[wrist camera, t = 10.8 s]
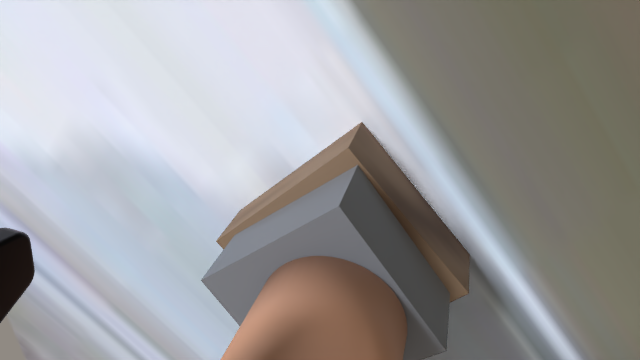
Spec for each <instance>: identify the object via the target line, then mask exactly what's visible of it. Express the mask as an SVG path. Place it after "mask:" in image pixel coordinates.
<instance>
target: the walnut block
mask: <svg viewBox="0 0 640 360" xmlns="http://www.w3.org/2000/svg"><path fill="white" fill-rule="evenodd" d="M356 165H359V167H360V168H361V170H362V171H363V172H364V174H365V175H366V177H367V178H368V179H369V181H370V182H371V184H372V185H373V186H374V188H375V189H376V191H377V192H378V193H379V195H380V196H381V198H382V199H383V200H384V202H385V203H386V205H387V206H388V207H389V209H390V210H391V212H392V213H393V214H394V216H395V217H396V219H397V220H398V221H399V223H400V224H401V225H402V227H403V228H404V230H405V231H406V232H407V234H408V235H409V237H410V238H411V239H412V241H413V242H414V244H415V245H416V246H417V248H418V249H419V251H420V252H421V253H422V255H423V256H424V258H425V259H426V260H427V262H428V263H429V265H430V266H431V267H432V269H433V270H434V272H435V273H436V274H437V276H438V277H439V279H440V280H441V281H442V283H443V284H444V286H445V287H446V288H447V290H448V291H449V293H450V302H452V301H454V300H456V299H458V298H460V297H463V296H465V295H467V294H469V259H470V255H469V253H468V252H467V251H466V250H465V248H464V247H463V246H462V245H461V243H460V242H459V241H458V240H457V239H456V237H455V236H454V235H453V234H452V232H451V231H450V230H449V229H448V227H447V226H446V225H445V224H444V223H443V221H442V220H441V219H440V218H439V216H438V215H437V214H436V213H435V211H434V210H433V209H432V208H431V206H430V205H429V204H428V203H427V202H426V200H425V199H424V198H423V197H422V195H421V194H420V193H419V192H418V190H417V189H416V188H415V187H414V186H413V184H412V183H411V182H410V181H409V179H408V178H407V177H406V176H405V174H404V173H403V172H402V171H401V169H400V168H399V167H398V166H397V165H396V163H395V162H394V161H393V160H392V158H391V157H390V156H389V155H388V153H387V152H386V151H385V150H384V149H383V147H382V146H381V145H380V144H379V142H378V141H377V140H376V139H375V137H374V136H373V135H372V134H371V132H370V131H369V130H368V129H367V128H366V126H365V125H364V124H363V123H362V122H361V123H360V124H358V125H357V126H356V127H354V128H353V129H352V130H350V131H349V132H347V133H346V134H345V135H343V136H342V137H341V138H339V139H338V140H336V141H335V142H334V143H332V144H331V145H330V146H328V147H327V148H325V149H324V150H323V151H321V152H320V153H319V154H317V155H316V156H314V157H313V158H312V159H310V160H309V161H307V162H306V163H305V164H303V165H302V166H301V167H299V168H298V169H296V170H295V171H294V172H292V173H291V174H290V175H288V176H287V177H285V178H284V179H283V180H281V181H280V182H279V183H277V184H276V185H274V186H273V187H272V188H270V189H269V190H268V191H266V192H265V193H263V194H262V195H261V196H259V197H258V198H257V199H255V200H254V201H252V202H251V203H250V204H248V205H247V206H246V207H244V208H243V209H241V210H240V211H239V213H238V214H237V215H236V216H235V218H234V219H233V220H232V222H231V223H230V224H229V225H228V227H227V228H226V229H225V230H224V232H223V233H222V234H221V236H220V237H219V238H218V239H217V241H216V242H217V243H218V244H219V245H220V246H221V247H222V248H223V249H225V247H226V246H227V245H228V243H229V242H230V241H231V239H232V238H233V237H234V235H236V234H237V233H239V232H241V231H243V230H244V229H246V228H248V227H250V226H251V225H253V224H255V223H257V222H258V221H260V220H262V219H264V218H265V217H267V216H269V215H271V214H272V213H274V212H276V211H278V210H279V209H281V208H283V207H285V206H286V205H288V204H290V203H292V202H293V201H295V200H297V199H299V198H300V197H302V196H304V195H306V194H307V193H309V192H311V191H313V190H314V189H316V188H318V187H320V186H321V185H323V184H325V183H327V182H328V181H330V180H332V179H334V178H335V177H337V176H339V175H341V174H342V173H344V172H346V171H348V170H349V169H351V168H353V167H355V166H356Z"/></svg>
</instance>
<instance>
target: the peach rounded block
mask: <svg viewBox="0 0 640 360" xmlns="http://www.w3.org/2000/svg"><path fill="white" fill-rule="evenodd" d="M406 339H407V319H406V315H405V312H404V309H403V307H402V305H401V303H400V301H399V299H398V298H397V296H396V295H395V293H394V292H393V291H392V290H391V288H390V287H389V286H388V285H387V284H386V283H385V282H384V281H383V280H382V279H380V278H379V277H378V276H376V275H375V274H374V273H372V272H371V271H369V270H367V269H366V268H364V267H362V266H360V265H358V264H355V263H353V262H350V261H347V260H344V259H340V258H336V257H329V256H308V257H302V258H298V259H295V260H292V261H290V262H287V263H285V264H284V265H282V266H280V267H279V268H278V269H277V270H275V271H274V272H273V273H272V274H271V276H270V277H269V278H268V280H267V281H266V283H265V285H264V286H263V288H262V290H261V292H260V293H259V295H258V297H257V298H256V300H255V302H254V304H253V305H252V307H251V309H250V310H249V312H248V314H247V316H246V317H245V319H244V321H243V322H242V324H241V326H240V328H239V329H238V331H237V333H236V334H235V336H234V338H233V340H232V341H231V343H230V345H229V346H228V348H227V350H226V352H225V353H224V355H223V357H222V358H221V360H403V355H404V350H405V344H406Z"/></svg>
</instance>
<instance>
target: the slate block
mask: <svg viewBox="0 0 640 360" xmlns="http://www.w3.org/2000/svg"><path fill="white" fill-rule="evenodd" d="M308 256H329V257H336V258H340V259H344V260H347V261H350V262H353V263H355V264H358V265H360V266H362V267H364V268H366V269H367V270H369V271H371V272H372V273H374V274H375V275H376V276H378V277H379V278H380V279H382V280H383V281H384V282H385V283H386V284H387V285H388V286H389V287H390V288H391V290H392V291H393V292H394V293H395V295H396V296H397V298H398V299H399V301H400V303H401V305H402V307H403V309H404V312H405V315H406V319H407V339H406V344H405V350H404V355H403V360H422V359H425V358H428V357H430V356H433V355H436V354H439V353H442V352H445V351H446V348H447V333H448V318H449V303H450V293H449V291H448V290H447V288H446V287H445V286H444V284H443V283H442V281H441V280H440V279H439V277H438V276H437V274H436V273H435V272H434V270H433V269H432V267H431V266H430V265H429V263H428V262H427V260H426V259H425V258H424V256H423V255H422V253H421V252H420V251H419V249H418V248H417V246H416V245H415V244H414V242H413V241H412V239H411V238H410V237H409V235H408V234H407V232H406V231H405V230H404V228H403V227H402V225H401V224H400V223H399V221H398V220H397V219H396V217H395V216H394V214H393V213H392V212H391V210H390V209H389V207H388V206H387V205H386V203H385V202H384V200H383V199H382V198H381V196H380V195H379V193H378V192H377V191H376V189H375V188H374V186H373V185H372V184H371V182H370V181H369V179H368V178H367V177H366V175H365V174H364V172H363V171H362V170H361V168H360V167H359V165H356V166H355V167H353V168H351V169H349V170H348V171H346V172H344V173H342V174H341V175H339V176H337V177H335V178H334V179H332V180H330V181H328V182H327V183H325V184H323V185H321V186H320V187H318V188H316V189H314V190H313V191H311V192H309V193H307V194H306V195H304V196H302V197H300V198H299V199H297V200H295V201H293V202H292V203H290V204H288V205H286V206H285V207H283V208H281V209H279V210H278V211H276V212H274V213H272V214H271V215H269V216H267V217H265V218H264V219H262V220H260V221H258V222H257V223H255V224H253V225H251V226H250V227H248V228H246V229H244V230H243V231H241V232H239V233H237V234H236V235H234V237H233V238H232V239H231V241H230V242H229V243H228V245H227V246H226V247H225V249H224V250H223V251H222V253H221V254H220V255H219V257H218V258H217V259H216V261H215V262H214V263H213V265H212V266H211V268H210V269H209V270H208V272H207V273H206V274H205V276H204V277H203V278H202V280H201V281H202V282H203V283H204V284H205V286H206V287H207V288H208V289H209V290H210V291H211V293H212V294H213V295H214V296H215V297H216V299H217V300H218V301H219V302H220V303H221V304H222V306H223V307H224V308H225V309H226V310H227V312H228V313H229V314H230V315H231V316H232V317H233V319H234V320H235V321H236V322H237V323H238V324H239V326H241V324H242V322H243V321H244V319H245V317H246V316H247V314H248V312H249V310H250V309H251V307H252V305H253V304H254V302H255V300H256V298H257V297H258V295H259V293H260V292H261V290H262V288H263V286H264V285H265V283H266V281H267V280H268V278H269V277H270V276H271V274H272V273H273V272H274V271H275V270H277V269H278V268H279V267H280V266H282V265H284V264H285V263H287V262H290V261H292V260H295V259H298V258H302V257H308Z"/></svg>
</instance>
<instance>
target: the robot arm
mask: <svg viewBox="0 0 640 360" xmlns="http://www.w3.org/2000/svg"><path fill="white" fill-rule="evenodd" d="M34 271H35V270H34V262H33V256H32V249H31V242H30V238H29V237H28V235H27V234H25V233H23V232H20V231H17V230H13V229H10V228H0V323H1V321H2V320H3V319H4V317H5V316H6V315H7V314H8V312H9V311H10V310H11V308H12V307H13V306H14V304H15V303H16V302H17V301H18V299H19V298H20V297H21V295H22V294H23V293H24V291H25V290H26V289H27V288H28V286H29V285H30V283H31V281H32V279H33V277H34Z"/></svg>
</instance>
